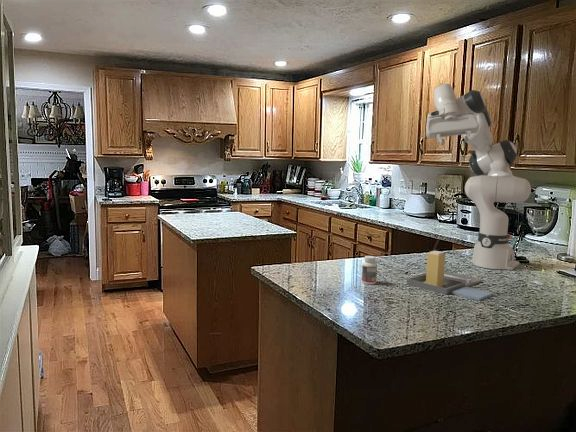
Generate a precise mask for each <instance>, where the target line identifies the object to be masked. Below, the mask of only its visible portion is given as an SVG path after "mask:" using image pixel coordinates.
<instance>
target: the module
mask: <svg viewBox="0 0 576 432" xmlns="http://www.w3.org/2000/svg"><path fill="white" fill-rule="evenodd" d="M426 256H427V258H426V273H425V274H426V279H425V283H427V284H431V285H435V286H439V287H444V283H443V282H444V271H445V265H446V253H445V252H444V251H439V250H431V251H429V252H428V253H427V255H426Z"/></svg>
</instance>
